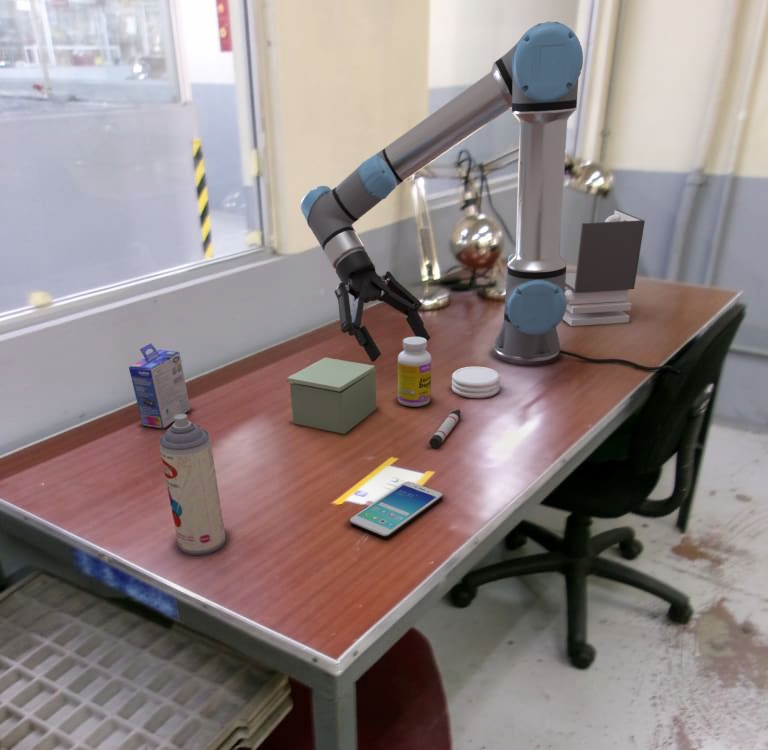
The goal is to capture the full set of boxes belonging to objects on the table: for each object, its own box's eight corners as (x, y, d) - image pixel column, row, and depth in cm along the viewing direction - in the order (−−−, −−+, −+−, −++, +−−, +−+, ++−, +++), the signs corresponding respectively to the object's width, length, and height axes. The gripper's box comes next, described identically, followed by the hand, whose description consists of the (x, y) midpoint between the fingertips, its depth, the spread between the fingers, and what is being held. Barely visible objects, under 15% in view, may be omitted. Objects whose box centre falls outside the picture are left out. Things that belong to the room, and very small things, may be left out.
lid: (339, 391, 134) (339, 387, 134) (287, 381, 139) (286, 377, 138) (375, 369, 145) (375, 365, 145) (325, 361, 149) (325, 357, 149)
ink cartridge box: (168, 406, 152) (155, 337, 144) (191, 409, 150) (180, 339, 143) (139, 426, 144) (124, 354, 137) (164, 429, 143) (150, 356, 135)
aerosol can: (174, 535, 111) (150, 411, 100) (219, 525, 113) (200, 402, 103) (183, 559, 105) (158, 431, 95) (231, 548, 108) (212, 421, 97)
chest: (344, 434, 140) (342, 393, 135) (293, 423, 144) (289, 383, 140) (376, 408, 149) (375, 369, 145) (327, 399, 154) (325, 361, 149)
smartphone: (347, 519, 112) (406, 480, 122) (347, 524, 112) (406, 484, 122) (386, 535, 108) (444, 493, 118) (386, 540, 109) (444, 498, 118)
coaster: (466, 377, 163) (467, 362, 161) (507, 387, 158) (508, 371, 156) (442, 392, 156) (443, 376, 154) (484, 403, 151) (485, 386, 149)
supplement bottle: (420, 410, 148) (420, 348, 141) (391, 404, 151) (391, 342, 144) (436, 399, 153) (437, 338, 146) (408, 392, 156) (408, 332, 149)
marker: (439, 449, 134) (439, 438, 133) (429, 447, 134) (429, 437, 133) (463, 415, 146) (464, 406, 145) (454, 414, 146) (454, 404, 145)
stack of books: (628, 322, 194) (644, 220, 181) (558, 327, 191) (569, 224, 178) (604, 305, 207) (617, 209, 194) (538, 309, 205) (547, 213, 192)
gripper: (387, 261, 161) (435, 344, 159) (293, 282, 147) (346, 374, 145) (404, 239, 155) (454, 325, 153) (308, 259, 140) (363, 355, 139)
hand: (401, 349), depth 149 cm, fingers open, 13 cm apart
